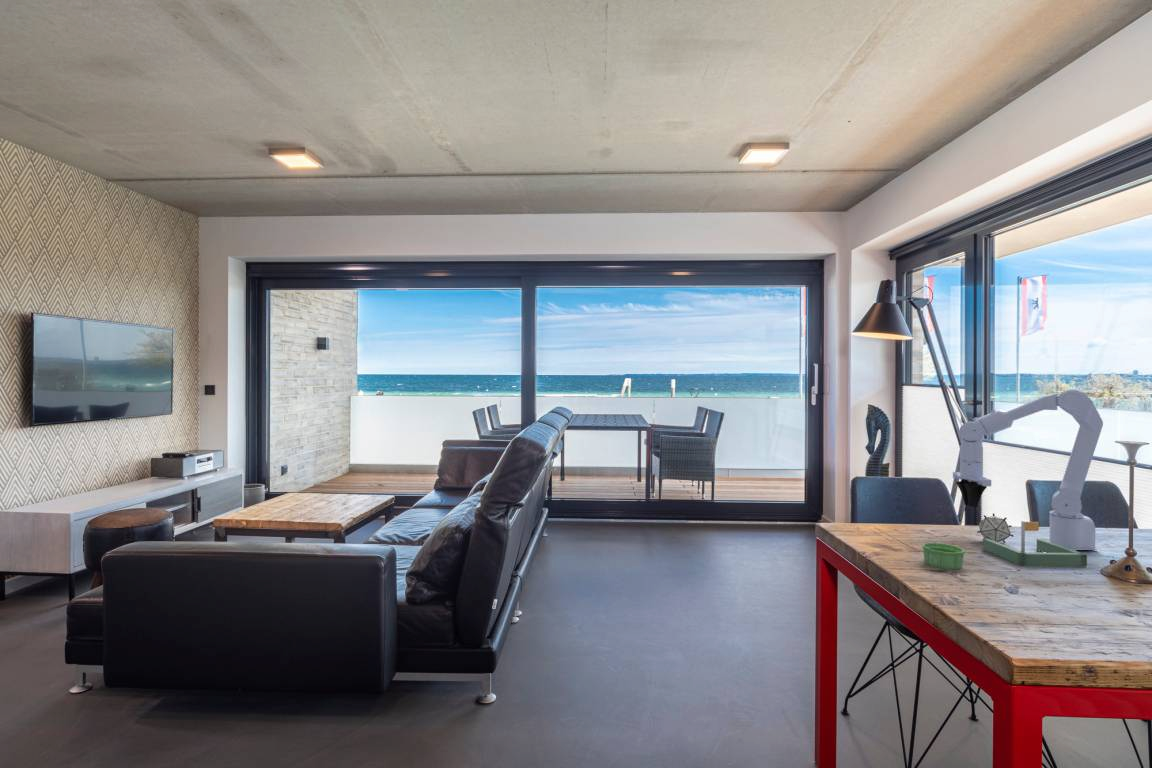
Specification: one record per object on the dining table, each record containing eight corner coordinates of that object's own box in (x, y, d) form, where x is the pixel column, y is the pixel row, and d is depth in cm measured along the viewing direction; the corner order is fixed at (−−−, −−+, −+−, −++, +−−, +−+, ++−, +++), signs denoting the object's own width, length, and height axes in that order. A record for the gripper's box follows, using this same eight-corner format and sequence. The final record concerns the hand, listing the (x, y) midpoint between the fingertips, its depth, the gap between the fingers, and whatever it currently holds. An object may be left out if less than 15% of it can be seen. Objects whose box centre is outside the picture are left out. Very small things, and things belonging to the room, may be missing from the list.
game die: (1003, 557, 163) (1028, 534, 158) (974, 546, 163) (999, 522, 158) (990, 534, 171) (1014, 512, 165) (963, 524, 171) (986, 501, 166)
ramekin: (971, 571, 140) (971, 553, 140) (930, 569, 141) (930, 551, 141) (954, 560, 148) (955, 543, 148) (916, 558, 150) (916, 541, 150)
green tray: (1042, 550, 157) (1042, 510, 157) (1086, 566, 143) (1087, 522, 143) (983, 549, 158) (983, 509, 158) (1022, 566, 144) (1022, 522, 144)
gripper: (943, 458, 182) (942, 500, 182) (974, 464, 167) (974, 511, 167) (965, 458, 182) (965, 501, 182) (998, 464, 167) (998, 511, 167)
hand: (971, 505), depth 174 cm, fingers closed
